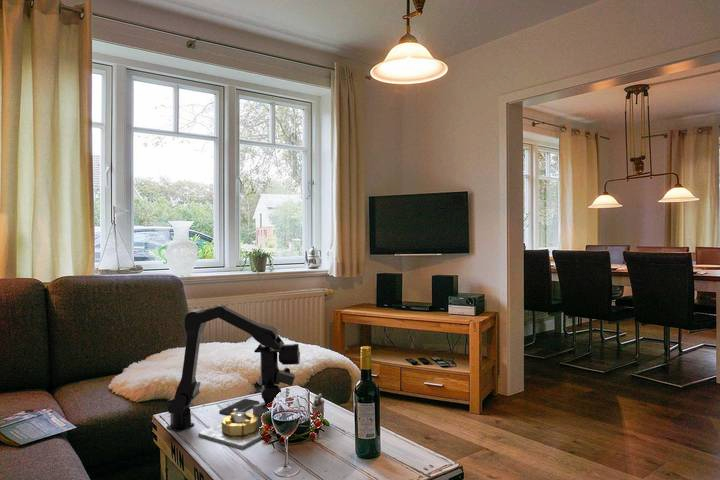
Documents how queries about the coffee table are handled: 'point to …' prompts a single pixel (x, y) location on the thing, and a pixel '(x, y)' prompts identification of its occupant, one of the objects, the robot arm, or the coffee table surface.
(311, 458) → the coffee table surface
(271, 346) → the robot arm
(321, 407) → the lighter
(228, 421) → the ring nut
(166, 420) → the coffee table surface
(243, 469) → the coffee table surface
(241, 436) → the grey base plate
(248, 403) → the phone
